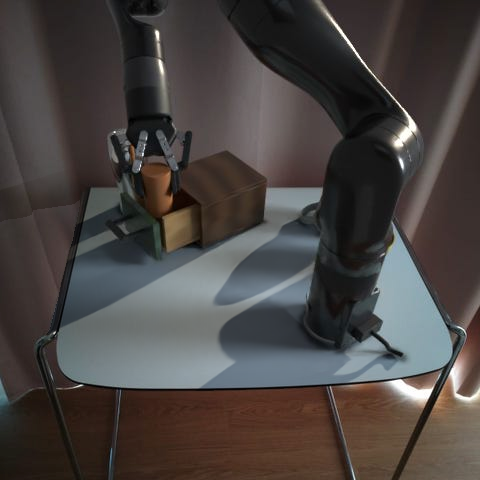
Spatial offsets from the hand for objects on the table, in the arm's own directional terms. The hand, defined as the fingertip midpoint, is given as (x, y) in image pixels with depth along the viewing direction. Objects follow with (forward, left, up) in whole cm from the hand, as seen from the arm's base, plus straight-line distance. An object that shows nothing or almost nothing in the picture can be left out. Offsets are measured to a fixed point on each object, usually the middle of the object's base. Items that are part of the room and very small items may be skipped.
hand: (158, 196), depth 83 cm
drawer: (+2, -1, -10) cm, 10 cm away
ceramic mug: (-12, -30, -11) cm, 34 cm away
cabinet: (+2, -13, -11) cm, 17 cm away
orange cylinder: (+2, -1, -4) cm, 4 cm away
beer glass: (+14, -2, -11) cm, 18 cm away
